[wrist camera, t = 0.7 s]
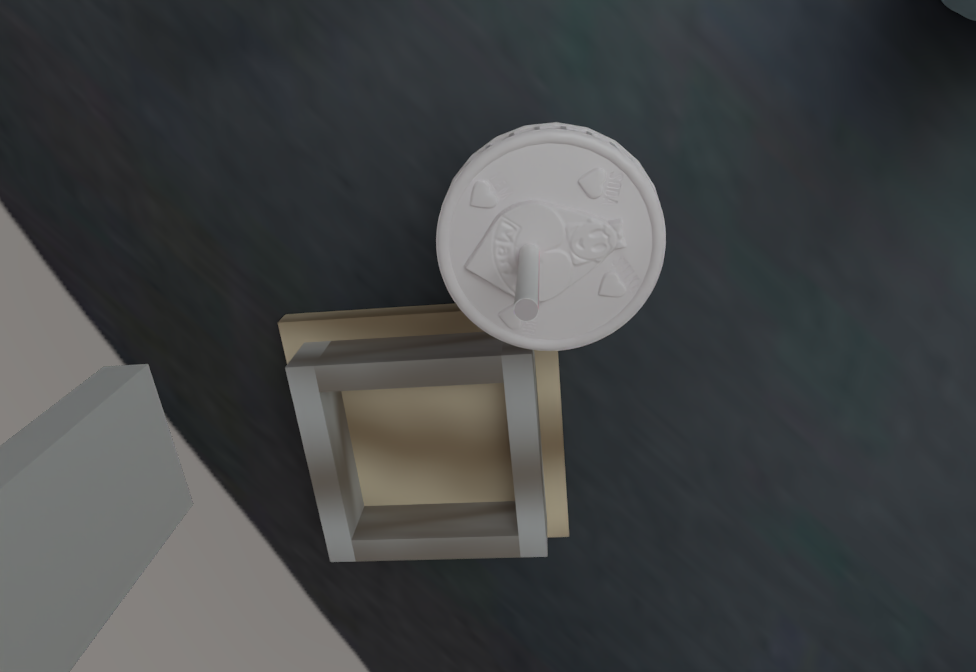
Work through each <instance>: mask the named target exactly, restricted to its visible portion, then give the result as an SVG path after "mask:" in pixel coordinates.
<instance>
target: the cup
mask: <svg viewBox="0 0 976 672" xmlns="http://www.w3.org/2000/svg"><path fill="white" fill-rule="evenodd" d="M941 1H942V2H943V4H944V5H945V6H947V7H948V8H949V9H951V10H952V11H955V12H957V13H958V14H960V15H962V16H964V17H966V18H968V19H970V20H973V21H976V0H941Z"/></svg>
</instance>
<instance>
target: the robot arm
mask: <svg viewBox="0 0 976 672" xmlns="http://www.w3.org/2000/svg"><path fill="white" fill-rule="evenodd" d="M192 505H193V501H192V498H191V495H190V492H189V488H188V485H187V482H186V479H185V476H184V473H183V470H182V467H181V464H180V461H179V458H178V454H177V452H176V449H175V445H174V442H173V439H172V436H171V433H170V430H169V427H168V424H167V421H166V418H165V414H164V411H163V408H162V405H161V402H160V399H159V396H158V393H157V390H156V387H155V384H154V381H153V378H152V374H151V371H150V368H149V365H148V364H139V365H122V366H106V367H102V368H101V369H100V370H99V371H97V372H96V373H95V374H93V375H92V376H91V377H89V378H88V379H87V380H86V381H84V382H83V383H82V384H80V385H79V386H78V387H76V388H75V389H74V390H72V391H71V392H70V393H69V394H67V395H66V396H65V397H63V398H62V399H61V400H59V401H58V402H57V403H56V404H54V405H53V406H52V407H50V408H49V409H48V410H46V411H45V412H44V413H42V414H41V415H40V416H38V417H37V418H36V419H35V420H33V421H32V422H31V423H29V424H28V425H27V426H25V427H24V428H23V429H22V430H20V431H19V432H18V433H16V434H15V435H14V436H12V437H11V438H10V439H8V440H7V441H6V442H5V443H3V444H2V445H1V446H0V672H70V671H71V669H72V668H73V666H74V665H75V664H76V662H77V661H78V660H79V658H80V657H81V656H82V654H83V653H84V652H85V650H86V649H87V648H88V646H89V645H90V643H91V642H92V641H93V639H94V638H95V636H96V635H97V634H98V632H99V631H100V630H101V629H102V627H103V626H104V624H105V623H106V622H107V620H108V619H109V618H110V616H111V615H112V614H113V612H114V611H115V609H116V608H117V607H118V605H119V604H120V603H121V601H122V600H123V599H124V597H125V596H126V595H127V593H128V592H129V591H130V589H131V588H132V586H133V585H134V584H135V582H136V581H137V580H138V578H139V577H140V576H141V574H142V573H143V572H144V570H145V568H147V566H148V565H149V563H150V562H151V561H152V559H153V558H154V557H155V555H156V554H157V553H158V551H159V550H160V548H161V547H162V546H163V544H164V543H165V542H166V540H167V539H168V538H169V536H170V535H171V534H172V532H173V531H174V529H175V528H176V526H177V525H178V524H179V523H180V521H181V520H182V519H183V517H184V516H185V515H186V513H187V512H188V511H189V509H190V508H191V506H192Z"/></svg>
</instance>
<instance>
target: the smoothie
mask: <svg viewBox="0 0 976 672" xmlns="http://www.w3.org/2000/svg"><path fill="white" fill-rule="evenodd" d="M665 247H666V230H665V221H664V216H663V211H662V208H661V205H660V202H659V199H658V196H657V192H656V189H655V186H654V184H653V183H652V181H651V180H650V178H649V177H648V175H647V173H646V172H645V170H644V169H643V167H642V166H641V164H640V162H639V161H638V160H637V159H636V158H635V157H633V156H632V155H631V154H630V153H629V152H628V151H627V150H626V149H624V148H623V147H622V146H621V145H620V144H619V143H618V142H616V141H615V140H613V139H611V138H609V137H607V136H605V135H602V134H600V133H598V132H596V131H594V130H592V129H590V128H588V127H582V126H576V125H570V124H564V123H559V122H553V123H544V124H534V125H525V126H522V127H520V128H517V129H515V130H512V131H510V132H507V133H505V134H502V135H499V136H497V137H495V138H494V139H492V140H491V141H490V142H488V143H487V144H486V145H484V146H483V147H482V148H480V149H479V150H478V151H476V152H475V153H474V154H472V155H471V156H470V158H469V159H468V160H467V161H466V163H465V164H464V165H463V167H462V168H461V169H460V170H459V172H458V173H457V174H456V175H455V177H454V178H453V180H452V182H451V184H450V187H449V189H448V192H447V194H446V196H445V199H444V201H443V204H442V206H441V212H440V215H439V219H438V225H437V234H436V251H437V259H438V264H439V268H440V272H441V275H442V278H443V281H444V283H445V285H446V287H447V290H448V292H449V293H450V295H451V297H452V299H453V300H454V302H455V303H456V304H457V306H458V307H459V308H460V310H461V311H462V312H463V313H464V314H465V315H466V316H467V317H468V318H469V319H470V320H471V321H472V322H473V323H474V324H475V325H477V326H478V327H479V328H480V329H482V330H483V331H485V332H486V333H488V334H489V335H491V336H493V337H495V338H497V339H499V340H501V341H503V342H506V343H508V344H511V345H514V346H517V347H521V348H525V349H531V350H539V351H560V350H568V349H573V348H578V347H582V346H585V345H588V344H591V343H593V342H596V341H598V340H600V339H602V338H604V337H606V336H608V335H610V334H611V333H613V332H614V331H616V330H617V329H619V328H620V327H622V326H623V325H624V324H625V323H626V322H628V321H629V320H630V319H631V318H632V317H633V316H634V315H635V314H636V313H637V312H638V311H639V309H640V308H641V307H642V306H643V304H644V303H645V302H646V300H647V299H648V297H649V296H650V294H651V292H652V290H653V289H654V287H655V284H656V282H657V280H658V278H659V275H660V272H661V269H662V265H663V260H664V256H665Z"/></svg>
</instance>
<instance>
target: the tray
mask: <svg viewBox="0 0 976 672" xmlns="http://www.w3.org/2000/svg"><path fill="white" fill-rule="evenodd" d="M278 326H279V331H280V335H281V339H282V344H283V348H284V352H285V357H286V361H287V366H286V367H285V370H286V374H287V378H288V382H289V387H290V391H291V395H292V400H293V404H294V408H295V412H296V417H297V421H298V425H299V430H300V434H301V438H302V442H303V447H304V451H305V455H306V460H307V464H308V468H309V472H310V477H311V481H312V485H313V490H314V494H315V498H316V502H317V507H318V511H319V515H320V519H321V524H322V528H323V532H324V537H325V541H326V545H327V549H328V554H329V558H330V562H352V561H392V560H432V559H472V558H512V557H547V537H569V525H568V508H567V491H566V475H565V458H564V442H563V425H562V409H561V392H560V376H559V359H558V351H539V350H531V349H525V348H521V347H517V346H514V345H511V344H508V343H506V342H503V341H501V340H499V339H497V338H495V337H493V336H491V335H489V334H488V333H486V332H485V331H483V330H482V329H480V328H479V327H478V326H477V325H475V324H474V323H473V322H472V321H471V320H470V319H469V318H468V317H467V316H466V315H465V314H464V313H463V312H462V311H461V310H460V308H459V307H458V306H457V304H456V303H453V304H438V305H422V306H407V307H391V308H375V309H360V310H344V311H328V312H313V313H297V314H285V315H284V316H283V317H282V319H281V320H280V321H279V322H278Z"/></svg>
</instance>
